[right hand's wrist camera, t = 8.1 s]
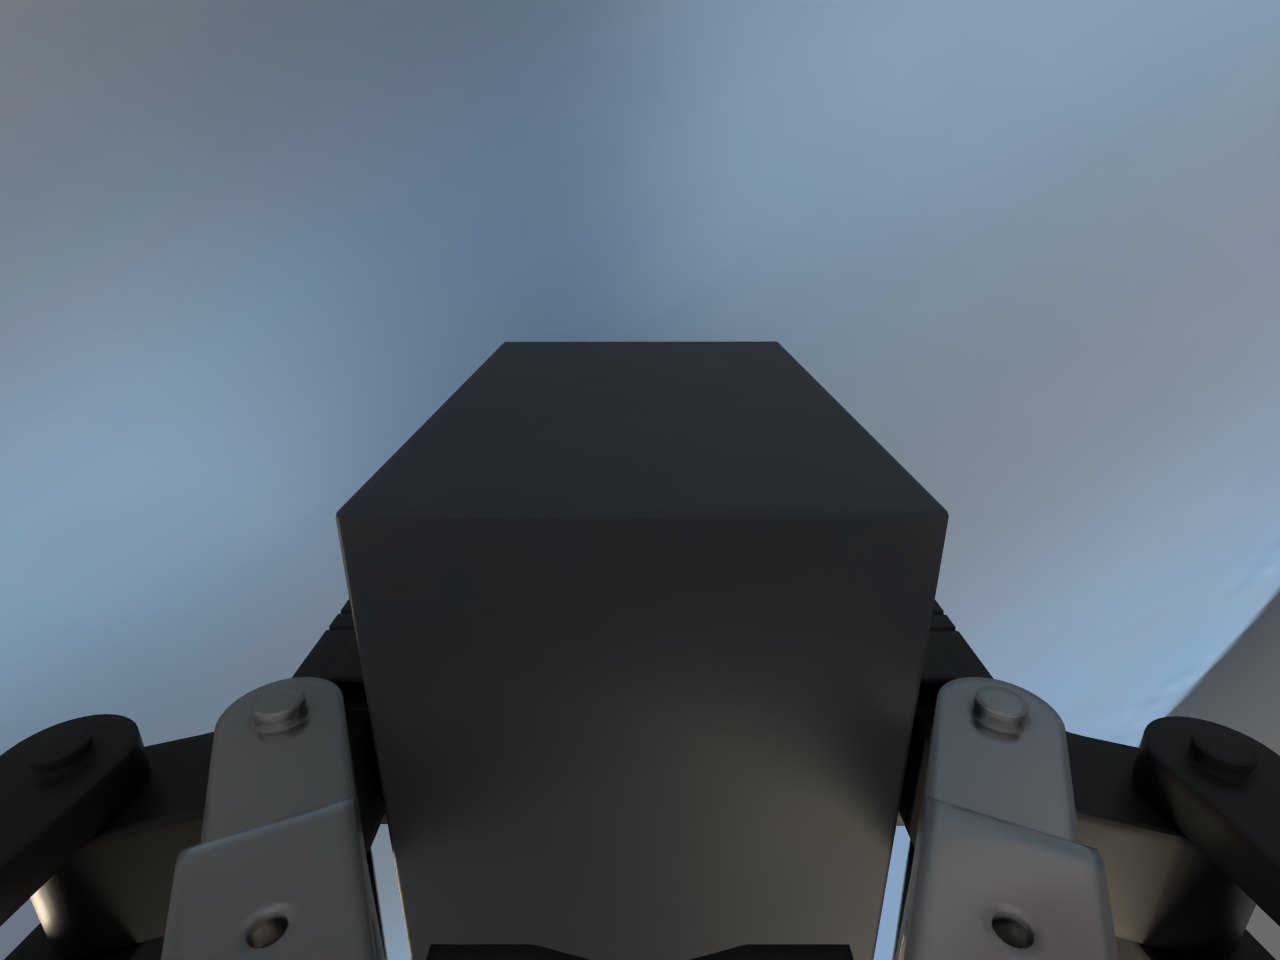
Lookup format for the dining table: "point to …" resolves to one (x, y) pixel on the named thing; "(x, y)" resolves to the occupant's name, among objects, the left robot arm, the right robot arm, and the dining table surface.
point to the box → (642, 653)
